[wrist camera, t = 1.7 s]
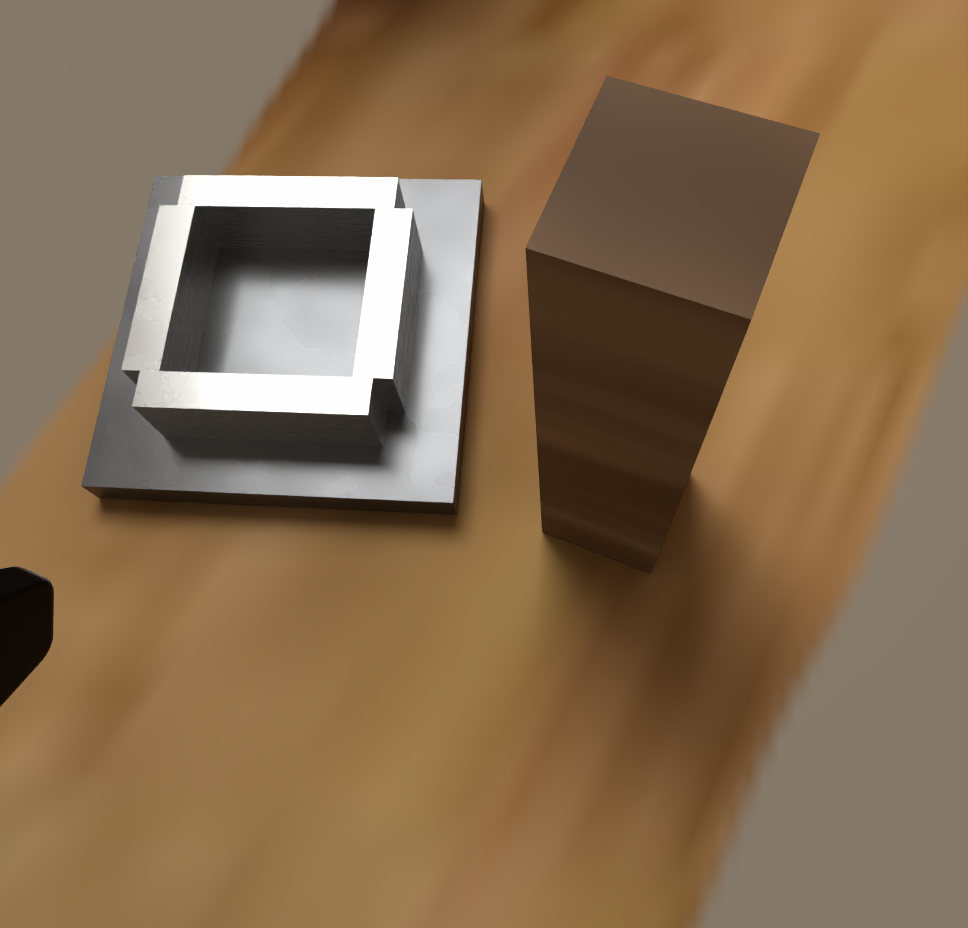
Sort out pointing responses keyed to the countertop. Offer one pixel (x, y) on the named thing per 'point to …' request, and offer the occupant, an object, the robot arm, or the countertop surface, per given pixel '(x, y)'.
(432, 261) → the square frame on plate
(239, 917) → the countertop surface
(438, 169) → the countertop surface
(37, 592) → the robot arm
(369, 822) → the countertop surface
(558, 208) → the walnut stick
